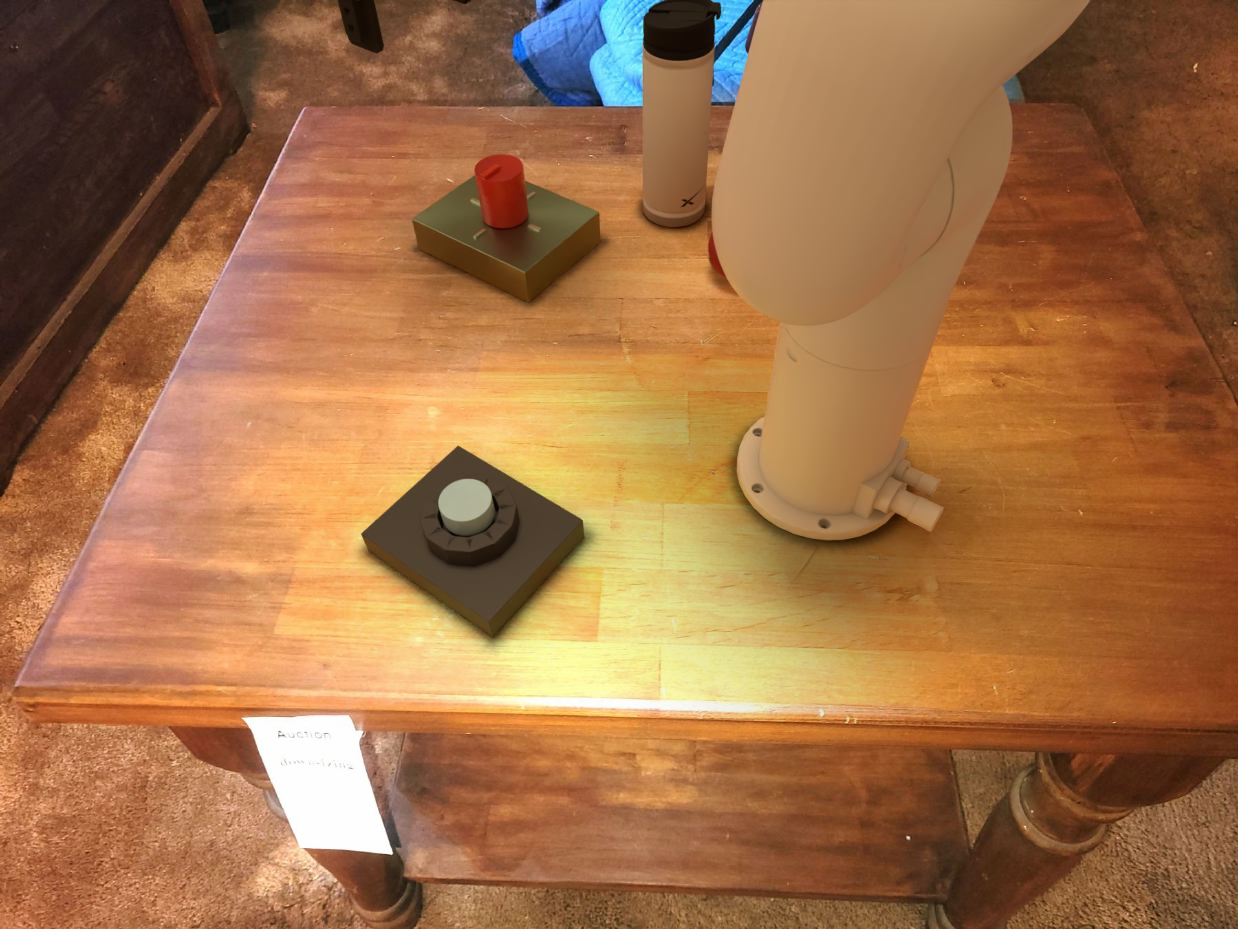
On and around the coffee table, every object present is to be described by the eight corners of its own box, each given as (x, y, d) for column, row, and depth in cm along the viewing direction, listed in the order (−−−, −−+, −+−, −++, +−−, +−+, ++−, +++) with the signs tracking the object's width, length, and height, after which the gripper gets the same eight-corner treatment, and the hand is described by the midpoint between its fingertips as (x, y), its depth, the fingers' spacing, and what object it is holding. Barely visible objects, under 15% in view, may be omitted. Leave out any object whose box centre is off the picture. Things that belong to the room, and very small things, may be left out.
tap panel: (601, 242, 85) (599, 210, 83) (528, 303, 80) (524, 270, 77) (493, 195, 91) (488, 163, 88) (418, 249, 85) (410, 217, 83)
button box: (584, 537, 63) (581, 504, 60) (493, 638, 58) (484, 608, 55) (462, 463, 68) (454, 429, 65) (368, 551, 63) (353, 518, 60)
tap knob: (503, 195, 85) (496, 145, 81) (538, 211, 83) (532, 160, 79) (472, 218, 82) (463, 167, 78) (507, 234, 81) (500, 183, 77)
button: (505, 509, 61) (502, 494, 59) (470, 545, 59) (466, 530, 58) (467, 486, 62) (463, 470, 61) (431, 519, 60) (427, 504, 59)
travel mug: (703, 231, 86) (716, 23, 71) (637, 224, 87) (636, 18, 72) (712, 195, 90) (726, -10, 75) (648, 189, 91) (649, -15, 75)
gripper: (294, -212, 49) (365, 82, 63) (495, -278, 58) (520, -7, 71) (208, -233, 52) (294, 53, 65) (412, -293, 61) (451, -29, 74)
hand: (412, 22), depth 68 cm, fingers open, 9 cm apart
